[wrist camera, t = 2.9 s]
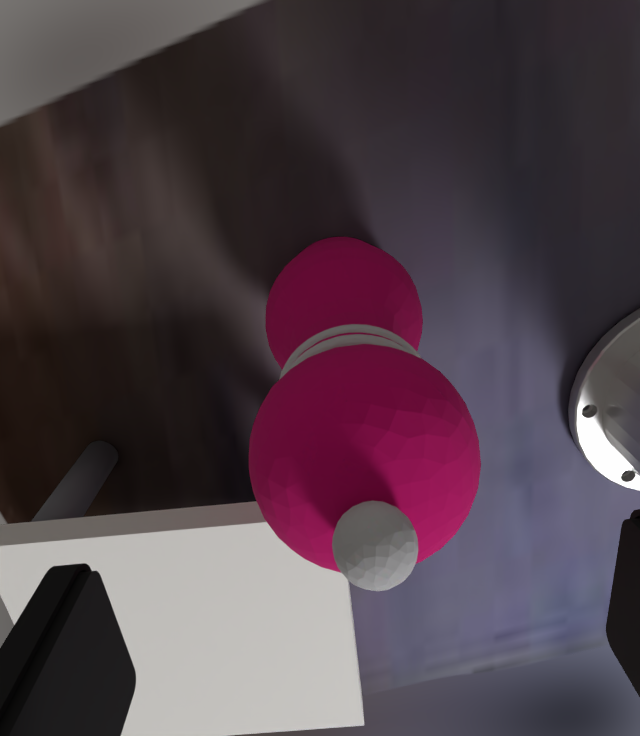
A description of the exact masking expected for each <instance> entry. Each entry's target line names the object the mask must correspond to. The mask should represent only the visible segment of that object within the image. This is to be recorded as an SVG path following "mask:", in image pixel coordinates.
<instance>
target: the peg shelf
mask: <svg viewBox="0 0 640 736" xmlns="http://www.w3.org/2000/svg"><path fill="white" fill-rule="evenodd" d="M117 461H118V452H117V450H116V449H115V448H114V447H113V446H112V445H111V444H109V443H107V442H104V441H94V442H92V443H90V444H89V445H88V446H87V447H86V449H85V450H84V451H83V453H82V454H81V455H80V457H79V458H78V459H77V461H76V462H75V463H74V465H73V466H72V467H71V469H70V470H69V471H68V473H67V474H66V475H65V477H64V478H63V479H62V481H61V482H60V483H59V485H58V486H57V487H56V489H55V490H54V491H53V493H52V494H51V495H50V497H49V498H48V499H47V501H46V502H45V503H44V505H43V506H42V507H41V509H40V510H39V511H38V513H37V514H36V515H35V517H34V518H33V519H32V521H31V522H25V523H14V524H3V525H0V595H1V597H2V600H3V602H4V604H5V606H6V608H7V610H8V612H9V614H10V617H11V619H12V621H13V623H14V625H15V623H16V622H17V620H18V618H19V617H20V615H21V613H22V612H23V610H24V609H25V607H26V605H27V604H28V602H29V600H30V599H31V597H32V595H33V594H34V592H35V590H36V589H37V587H38V585H39V584H40V582H41V580H42V579H43V577H44V575H45V574H46V572H47V571H48V570H49V569H50V568H51V567H53V566H61V565H71V564H81V563H86V564H87V565H89V566H90V568H91V570H92V571H98V572H99V574H100V575H101V578H102V581H103V583H104V586H105V589H106V592H107V594H108V597H109V600H110V603H111V605H112V608H113V611H114V613H115V616H116V619H117V622H118V624H119V627H120V630H121V633H122V635H123V638H124V641H125V643H126V646H127V649H128V652H129V654H130V657H131V660H132V663H133V665H134V668H135V672H136V686H135V692H134V695H133V698H132V702H131V705H130V708H129V711H128V714H127V717H126V721H125V724H124V727H123V730H122V733H121V736H227V735H240V734H254V733H267V732H281V731H295V730H307V729H321V728H335V727H349V726H363V725H364V715H363V702H362V692H361V683H360V675H359V666H358V657H357V648H356V640H355V631H354V622H353V613H352V605H351V596H350V587H349V580H348V579H347V578H346V577H345V576H344V575H343V574H342V573H340V572H337V571H333V570H330V569H326V568H322V567H320V566H318V565H316V564H314V563H312V562H310V561H308V560H306V559H304V558H303V557H301V556H300V555H298V554H297V553H296V552H294V551H293V550H292V549H290V548H289V547H288V546H287V545H286V544H285V543H284V542H283V541H281V540H280V539H279V538H278V537H277V535H276V534H275V533H274V531H273V530H272V528H271V527H270V526H269V524H268V523H267V522H266V520H265V519H264V517H263V515H262V512H261V510H260V508H259V506H258V504H257V501H255V502H244V503H233V504H222V505H211V506H200V507H189V508H178V509H167V510H156V511H145V512H134V513H123V514H112V515H102V516H91V517H83V516H84V514H85V513H86V511H87V510H88V508H89V506H90V505H91V503H92V502H93V500H94V498H95V497H96V495H97V493H98V492H99V490H100V489H101V487H102V485H103V484H104V482H105V481H106V479H107V477H108V476H109V474H110V473H111V471H112V469H113V468H114V466H115V465H116V463H117Z"/></svg>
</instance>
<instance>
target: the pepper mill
mask: <svg viewBox="0 0 640 736" xmlns="http://www.w3.org/2000/svg"><path fill="white" fill-rule="evenodd" d="M422 324H423V319H422V308H421V304H420V300H419V297H418V293H417V290H416V287H415V285H414V283H413V281H412V279H411V277H410V275H409V274H408V273H407V271H406V270H405V269H404V267H403V266H402V265H401V264H400V263H399V262H398V261H397V260H396V259H395V258H393V257H392V256H391V255H389V254H388V253H386V252H385V251H383V250H381V249H379V248H377V247H374V246H372V245H370V244H368V243H366V242H364V241H361V240H359V239H355V238H350V237H331V238H326V239H322V240H320V241H317V242H315V243H313V244H311V245H310V246H308V247H307V248H305V249H304V250H303V251H301V252H300V253H299V254H298V255H297V256H296V257H295V258H294V259H293V260H291V261H290V262H289V263H288V264H287V265H286V266H285V267H284V269H283V270H282V271H281V273H280V274H279V275H278V277H277V278H276V280H275V282H274V284H273V286H272V288H271V290H270V293H269V297H268V301H267V305H266V332H267V337H268V342H269V346H270V349H271V351H272V353H273V355H274V358H275V359H276V361H277V362H278V364H279V366H280V367H281V369H282V372H281V374H280V378H279V381H278V382H276V383H275V384H274V385H273V386H272V388H271V389H270V391H269V393H268V394H267V396H266V398H265V400H264V401H263V403H262V405H261V406H260V408H259V411H258V413H257V416H256V418H255V421H254V424H253V428H252V432H251V436H250V442H249V474H250V479H251V484H252V489H253V493H254V496H255V498H256V501H257V504H258V506H259V508H260V510H261V512H262V515H263V517H264V519H265V520H266V522H267V523H268V524H269V526H270V527H271V528H272V530H273V531H274V533H275V534H276V535H277V537H278V538H279V539H280V540H281V541H283V542H284V543H285V544H286V545H287V546H288V547H289V548H290V549H292V550H293V551H294V552H296V553H297V554H298V555H300V556H301V557H303V558H304V559H306V560H308V561H310V562H312V563H314V564H316V565H318V566H320V567H322V568H326V569H330V570H333V571H337V572H340V573H342V574H343V575H344V576H345V577H346V578H347V579H348V580H349V581H350V582H351V583H352V584H354V585H356V586H358V587H361V588H363V589H367V590H373V591H383V590H389V589H390V588H392V587H394V586H396V585H398V584H400V583H401V582H403V581H404V580H405V579H406V578H407V577H408V576H409V575H410V573H411V572H412V570H413V568H414V566H415V564H416V563H418V562H421V561H423V560H424V559H426V558H427V557H429V556H430V555H432V554H433V553H435V552H436V551H438V550H439V549H441V548H442V547H443V546H444V545H445V544H446V543H447V542H448V541H449V540H450V539H451V538H452V537H453V536H454V535H455V534H456V532H457V531H458V529H459V528H460V526H461V525H462V523H463V522H464V520H465V519H466V517H467V516H468V514H469V511H470V509H471V506H472V503H473V501H474V498H475V496H476V493H477V489H478V484H479V476H480V468H481V461H480V450H479V440H478V437H477V433H476V429H475V425H474V422H473V420H472V418H471V415H470V413H469V411H468V408H467V406H466V404H465V402H464V401H463V399H462V398H461V396H460V395H459V393H458V392H457V390H456V389H455V388H454V386H453V385H452V384H451V383H450V382H449V381H448V379H447V378H446V377H445V376H444V375H443V374H442V373H441V372H440V371H438V370H437V369H436V368H434V367H433V366H431V365H430V364H429V363H427V362H426V361H424V360H423V359H422V358H421V356H420V355H419V354H418V352H417V350H418V346H419V342H420V338H421V334H422Z"/></svg>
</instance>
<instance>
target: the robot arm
mask: <svg viewBox="0 0 640 736" xmlns="http://www.w3.org/2000/svg"><path fill="white" fill-rule="evenodd" d="M568 415H569V427H570V430H571V433H572V436H573V440H574V443H575V444H576V446H577V447H578V449H579V451H580V452H581V454H582V455H583V457H584V458H585V459H586V460H587V461H588V462H589V463H590V465H591V466H592V467H593V468H594V469H595V470H596V471H597V472H599V473H600V474H601V475H603V476H604V477H605V478H606V479H608V480H610V481H612V482H614V483H616V484H618V485H620V486H623V487H626V488H630V489H634V490H639V491H640V308H639V309H638V310H636V311H635V312H633V313H632V314H630V315H629V316H627V317H625V318H624V319H622V320H621V321H620V322H618V323H617V324H616V325H615V326H614V327H613V328H612V329H611V330H609V331H608V332H607V333H606V334H605V335H604V336H603V337H602V338H601V339H600V340H599V342H598V343H597V344H596V345H595V346H594V348H593V349H592V350H591V351H590V353H589V354H588V355H587V357H586V359H585V360H584V362H583V364H582V366H581V367H580V369H579V371H578V373H577V375H576V378H575V381H574V384H573V387H572V389H571V393H570V400H569V407H568ZM606 633H607V638H608V642H609V644H610V647H611V648H612V651H613V652H614V654H615V656H616V658H617V659H618V661H619V663H620V664H621V666H622V667H623V669H624V671H625V673H626V674H627V676H628V678H629V679H630V681H631V683H632V685H633V686H634V688H635V690H636V691H637V693H638V695H639V697H640V509H639V510H634V511H633V512H632V513H631V517H630V519H627V520H624V521H623V524H622V528H621V534H620V541H619V547H618V553H617V560H616V566H615V573H614V579H613V585H612V592H611V598H610V605H609V611H608V617H607V624H606ZM135 686H136V672H135V668H134V665H133V663H132V660H131V657H130V654H129V652H128V649H127V646H126V643H125V641H124V638H123V635H122V633H121V630H120V627H119V624H118V622H117V619H116V616H115V613H114V611H113V608H112V605H111V603H110V600H109V597H108V594H107V592H106V589H105V586H104V583H103V581H102V578H101V575H100V574H99V572H98V571H92V570H91V568H90V566H89V565H87V564H86V563H81V564H71V565H61V566H53V567H51V568H50V569H49V570H48V571H47V572H46V574H45V575H44V577H43V579H42V580H41V582H40V584H39V585H38V587H37V589H36V590H35V592H34V594H33V595H32V597H31V599H30V600H29V602H28V604H27V605H26V607H25V609H24V610H23V612H22V613H21V615H20V617H19V618H18V620H17V622H16V623H15V625H14V627H13V628H12V630H11V632H10V633H9V635H8V637H7V638H6V640H5V642H4V643H3V645H2V646H1V648H0V736H121V733H122V730H123V727H124V724H125V721H126V717H127V714H128V711H129V708H130V705H131V702H132V698H133V695H134V692H135Z"/></svg>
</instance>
